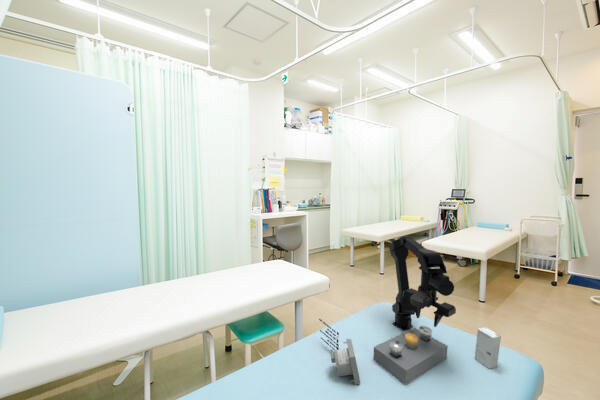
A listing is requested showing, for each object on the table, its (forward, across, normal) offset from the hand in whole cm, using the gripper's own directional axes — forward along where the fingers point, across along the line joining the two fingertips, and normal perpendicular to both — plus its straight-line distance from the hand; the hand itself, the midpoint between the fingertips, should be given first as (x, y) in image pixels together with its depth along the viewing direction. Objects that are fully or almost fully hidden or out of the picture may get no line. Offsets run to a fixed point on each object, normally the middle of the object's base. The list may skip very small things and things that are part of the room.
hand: (426, 322), depth 102 cm
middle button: (+8, 0, -9) cm, 12 cm away
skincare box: (+12, +16, +14) cm, 24 cm away
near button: (+8, 0, -18) cm, 20 cm away
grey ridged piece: (+12, -14, -34) cm, 39 cm away
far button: (+8, 0, 0) cm, 8 cm away
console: (+12, 0, -9) cm, 15 cm away
